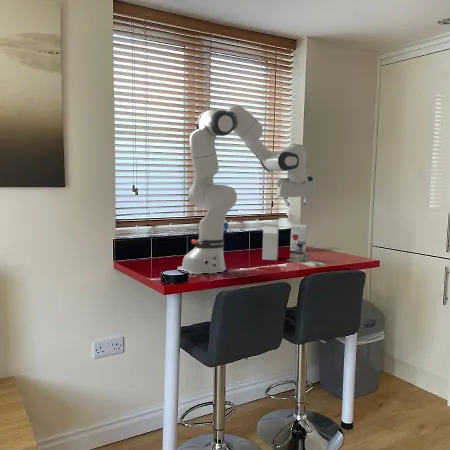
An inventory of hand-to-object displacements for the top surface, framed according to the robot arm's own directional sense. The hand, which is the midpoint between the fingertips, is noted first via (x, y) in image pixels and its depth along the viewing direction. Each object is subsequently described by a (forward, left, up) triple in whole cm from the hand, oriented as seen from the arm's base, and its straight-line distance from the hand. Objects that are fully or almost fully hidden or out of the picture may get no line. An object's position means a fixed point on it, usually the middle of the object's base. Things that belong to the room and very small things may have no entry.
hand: (295, 205), depth 223 cm
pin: (+3, -1, -27) cm, 28 cm away
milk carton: (-7, +10, -29) cm, 32 cm away
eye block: (+3, -6, -29) cm, 30 cm away
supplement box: (+30, +29, -29) cm, 51 cm away
